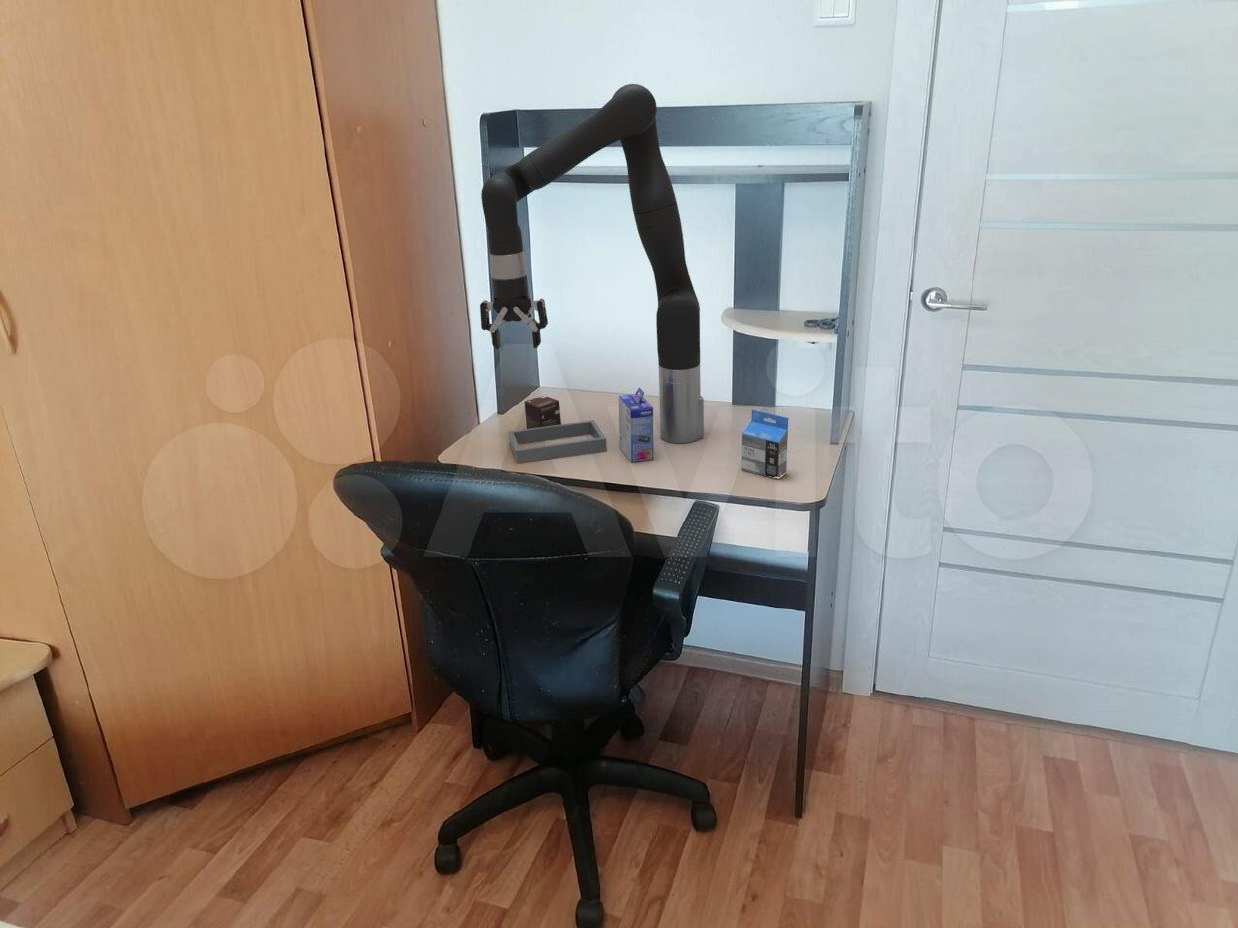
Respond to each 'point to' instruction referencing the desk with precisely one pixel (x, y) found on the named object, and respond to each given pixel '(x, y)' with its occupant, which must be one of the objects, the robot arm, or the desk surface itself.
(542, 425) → the box
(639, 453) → the ink cartridge box
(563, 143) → the robot arm
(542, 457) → the box
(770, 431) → the ink cartridge pack
